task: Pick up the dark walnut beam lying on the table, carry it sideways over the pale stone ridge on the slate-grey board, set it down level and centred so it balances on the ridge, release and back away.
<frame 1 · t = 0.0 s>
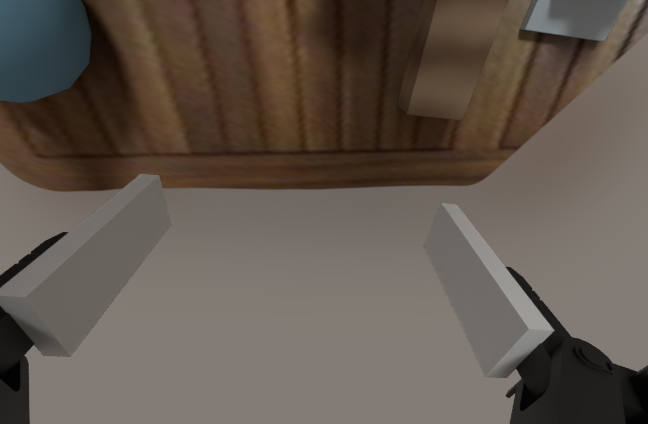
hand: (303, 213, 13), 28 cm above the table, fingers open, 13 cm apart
vase: (39, 10, 31), on the table
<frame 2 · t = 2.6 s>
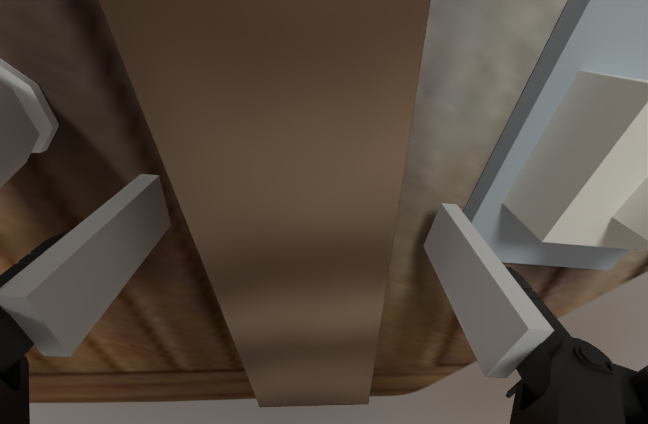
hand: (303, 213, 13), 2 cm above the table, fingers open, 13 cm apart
fulcrum: (598, 147, 13), on the table
beam: (303, 187, 15), on the table
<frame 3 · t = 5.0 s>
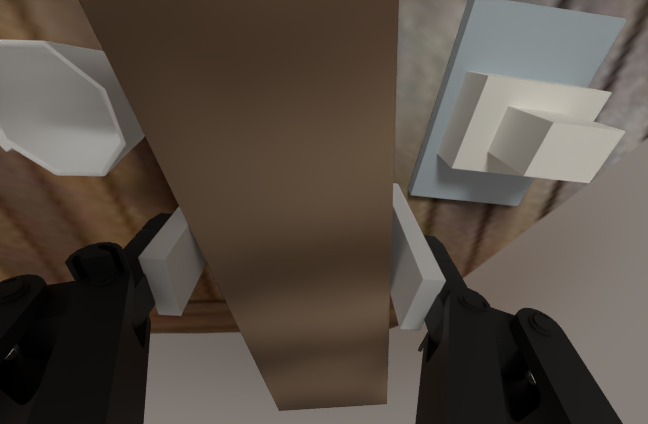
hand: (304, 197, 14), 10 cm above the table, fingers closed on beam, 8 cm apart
cup: (126, 97, 21), on the table
fulcrum: (494, 118, 22), on the table
beam: (305, 191, 15), point 9 cm above the table, touching gripper
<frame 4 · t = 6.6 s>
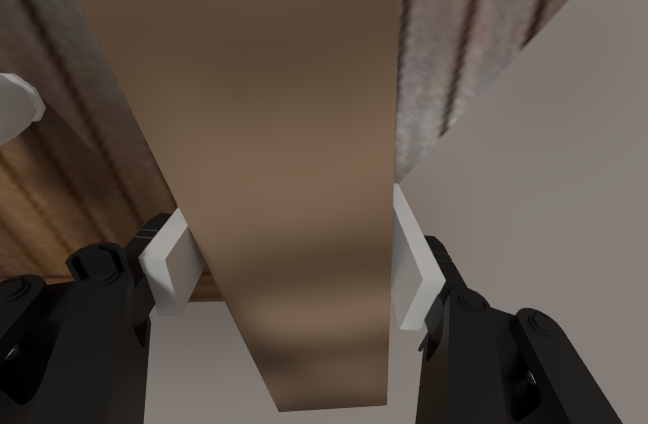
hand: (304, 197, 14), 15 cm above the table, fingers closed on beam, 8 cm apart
cup: (9, 103, 26), on the table
beam: (305, 192, 15), point 14 cm above the table, touching gripper
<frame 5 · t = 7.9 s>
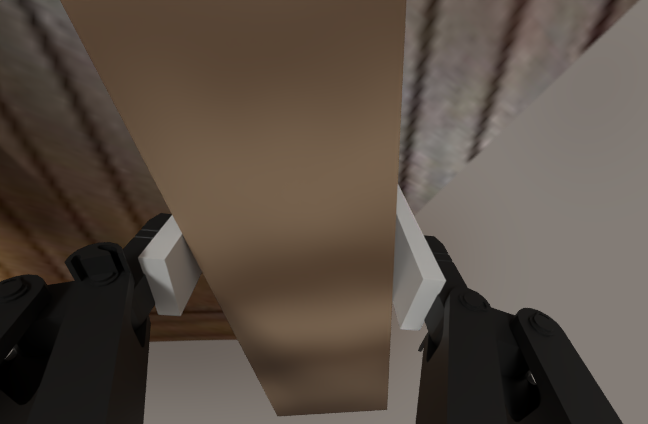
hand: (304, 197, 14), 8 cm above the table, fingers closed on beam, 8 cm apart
beam: (304, 194, 15), point 8 cm above the table, touching fulcrum, gripper
when the fingers open (8 cm above the table, at t = 8.5 s): beam stays where it is, resting on fulcrum.
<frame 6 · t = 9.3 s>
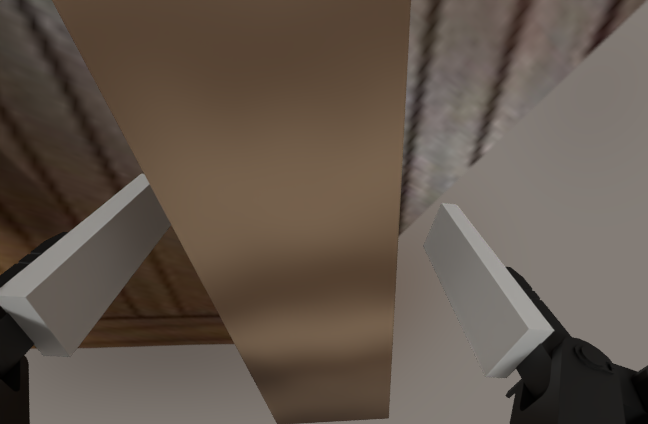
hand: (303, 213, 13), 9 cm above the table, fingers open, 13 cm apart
beam: (305, 200, 14), point 8 cm above the table, touching fulcrum
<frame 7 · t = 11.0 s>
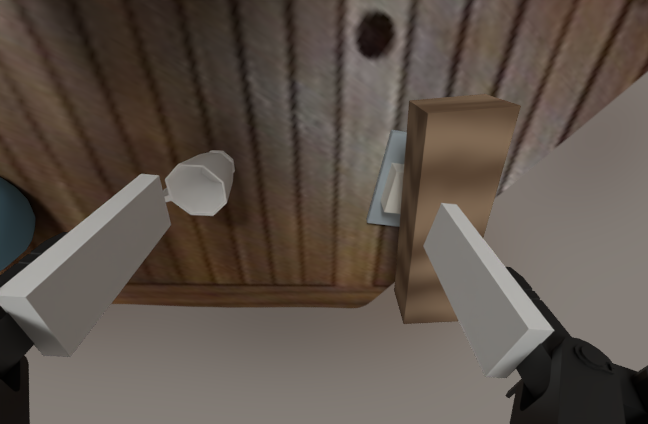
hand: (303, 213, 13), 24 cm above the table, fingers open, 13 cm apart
cup: (210, 167, 38), on the table
fulcrum: (411, 183, 39), on the table
beam: (429, 213, 32), point 8 cm above the table, touching fulcrum
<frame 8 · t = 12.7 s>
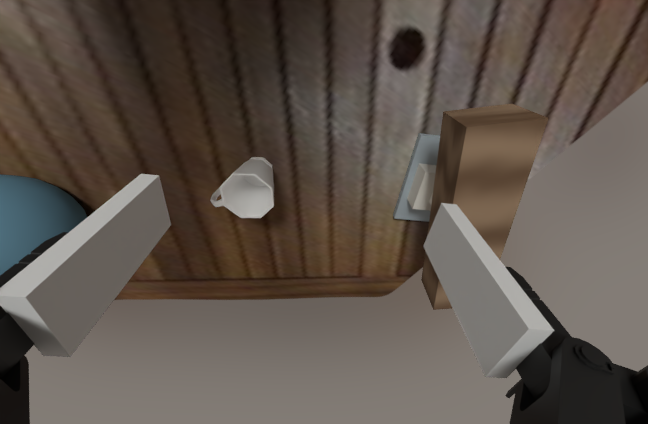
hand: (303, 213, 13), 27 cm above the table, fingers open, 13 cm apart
cup: (250, 172, 41), on the table
fulcrum: (435, 181, 42), on the table
vase: (52, 207, 45), on the table
beam: (457, 210, 36), point 8 cm above the table, touching fulcrum
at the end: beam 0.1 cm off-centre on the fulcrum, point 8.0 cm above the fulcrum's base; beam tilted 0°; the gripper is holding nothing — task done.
